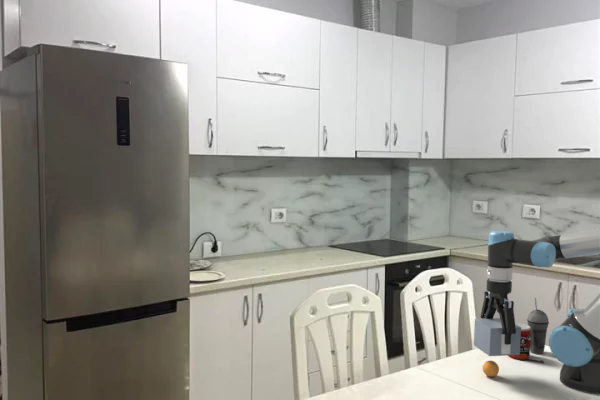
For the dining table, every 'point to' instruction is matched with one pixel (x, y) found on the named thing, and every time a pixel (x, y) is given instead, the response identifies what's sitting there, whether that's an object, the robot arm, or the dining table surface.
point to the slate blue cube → (494, 337)
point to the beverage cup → (537, 330)
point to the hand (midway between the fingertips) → (496, 347)
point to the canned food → (523, 342)
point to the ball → (490, 368)
